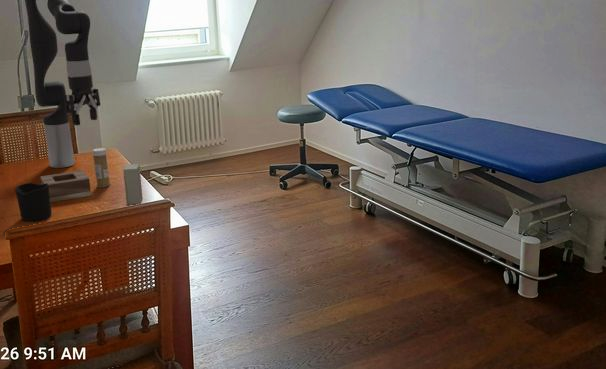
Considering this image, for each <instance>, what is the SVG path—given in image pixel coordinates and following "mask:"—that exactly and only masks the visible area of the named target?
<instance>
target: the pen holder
mask: <svg viewBox="0 0 606 369" xmlns="http://www.w3.org/2000/svg"><path fill="white" fill-rule="evenodd" d="M14 190H15V195H16V200H17V204H18V208H19V210H18V211H19V213H20V217H21V218H20V219H21V220H23V221H24V222H27V223H28V222H31V223H32V222H33V223H34V222H40V221H44V220H47V219H49V218H50V217H51V216H52V204H51V203H52V202H50V194H49V185H48V183H45V184H42V185H41V184H38V183H34V182H28V183H27V182H26V183H22V184H20V185H17V186H16V187H15V188H14Z"/></svg>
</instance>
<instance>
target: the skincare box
mask: <svg viewBox="0 0 606 369" xmlns="http://www.w3.org/2000/svg"><path fill="white" fill-rule="evenodd" d="M140 165H141V164H140V163H126V165H125V166H124V168H123V170H122V172H123V180H124V192H125V201H126V202H125V204H126V206H128V205H129V206H131V205H130V204H135V205H139V204H138V203H140V204H141V203H142V200H143V189H142V187H143V186H142V177H141V168H140V167H141V166H140Z"/></svg>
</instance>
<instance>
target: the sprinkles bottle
mask: <svg viewBox="0 0 606 369" xmlns="http://www.w3.org/2000/svg"><path fill="white" fill-rule="evenodd" d="M92 156H93V161H94V172H95V178H96V187H98V188H107V187H109V186H110V185H111V183H110V176H109V168H108V161H107V150H106V148H104V147H98V148H95V149H92Z"/></svg>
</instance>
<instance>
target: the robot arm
mask: <svg viewBox="0 0 606 369" xmlns="http://www.w3.org/2000/svg"><path fill="white" fill-rule="evenodd" d="M46 2H47V9H48V11H49V12H50V14H51V15H52V17H53V18H54V21H55V26H56V30H57V31H58V32H59V33H60V34H62V35H77V37H76V38H75V39H74V40H71V41H68V42H66V43H65V44H64V52H65V53H64V54H65V60H66V73H67V81H68V82H67V83H68V87H69V88H68V89H69V90H71V94H67V92H66V86H65V84H64V83H63V82H62V81H47V82H45V79H46V75H47V73H48V70H49V68H50V67H51V65H52V64H53V62H54V60H55V59H56V56H57V54H58V51H59V48H58V38H57V33H56V31H55V29H54V27H53V26H52V25H50V23H49V22H48V21H47V19H46V18H45V17H44V16H43V15H42V13H41V12H40V10H39V9H38V5H37V0H24V4H25V9H26V14H27V22H28V33H29V43H30V50H31V58H32V62H33V63H32V64H33V75H34V77H33V78H34V93H35V94H34V95H35V100H36V103H37V105H38V106H39V107H41V108H42V107H44V108H46V107H55V106H56V107H57V108H56V109H54V110H53V111H52V112H50V113H47V114H46V115H45V116H43V126H44V133H45V139H46V146H47V153H48V155H47V156H48V161H49V166H50V168H53V169H54V168H55V169H60V168H61V169H63V168H69V167H71V166H74V165H75V157H74V150H73V142H72V135H71V128H70V123H69V122H70V121H69V120H70V119H69V114H71V119H72V124H73V125H74V126H80V125H81V118H80V114H79V112H80V110H81V109H82V108H83V106H85V105H87V107H88V108H89V116H90V120H91V121H96V120H98V114H97V113H98V112H97V109H98V107H100V106H101V100H100V93H99V89H98V88H93V87H94V83H93V76H92V75H93V74H92V68H91V67H92V66H91V62H90V58H89V48H88V47H89V46H88V44H89V35H90V31H91V30H90V29H91V19H90V16H89V15H88V14H87V13H86V12H85V11H81V10H79V11H78V10H77V11H76V9H75V8H74V6H73V4H72V3H71V2H70V1H69V0H47V1H46Z"/></svg>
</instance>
